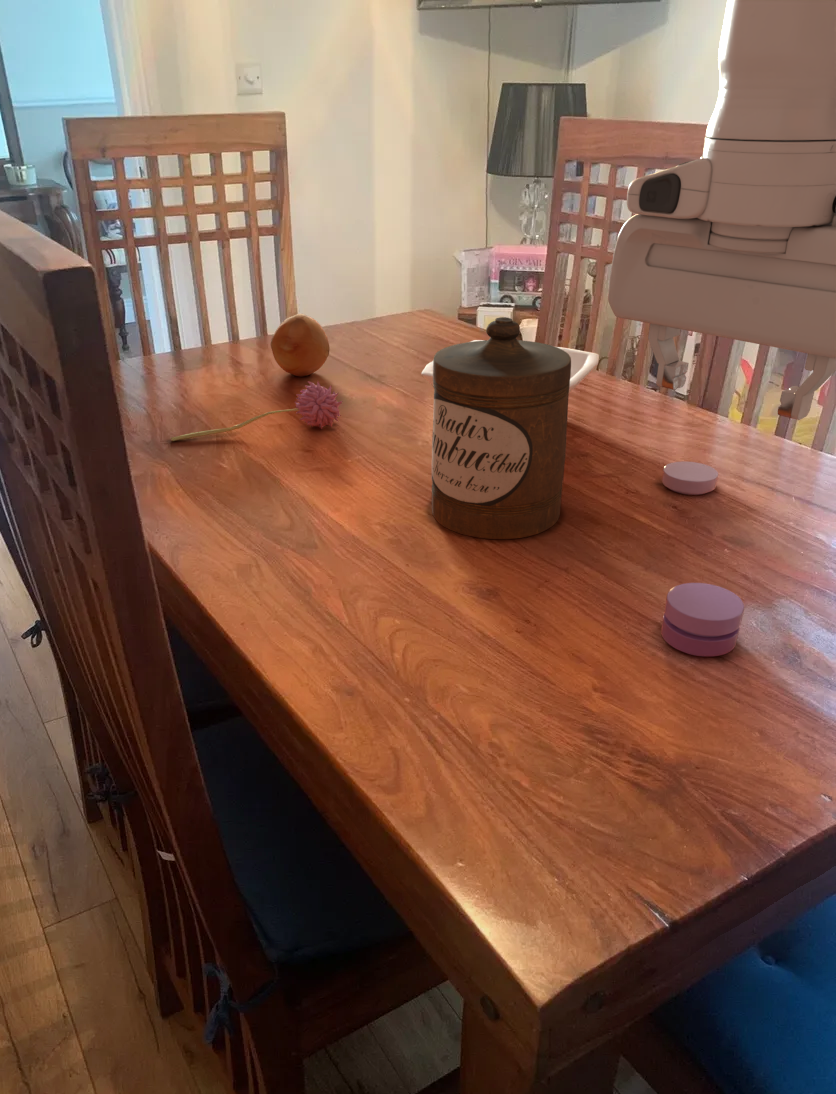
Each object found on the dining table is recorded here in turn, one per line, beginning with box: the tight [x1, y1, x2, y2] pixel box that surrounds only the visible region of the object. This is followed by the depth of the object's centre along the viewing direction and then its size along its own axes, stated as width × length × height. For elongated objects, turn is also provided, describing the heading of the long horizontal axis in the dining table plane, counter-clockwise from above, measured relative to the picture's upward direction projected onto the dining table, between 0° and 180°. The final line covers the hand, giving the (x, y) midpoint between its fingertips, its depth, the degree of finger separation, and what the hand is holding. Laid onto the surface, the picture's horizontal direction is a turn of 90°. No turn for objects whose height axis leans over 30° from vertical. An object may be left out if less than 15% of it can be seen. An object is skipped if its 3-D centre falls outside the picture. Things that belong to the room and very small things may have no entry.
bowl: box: [420, 339, 600, 394], centre depth 125 cm, size 22×23×8 cm
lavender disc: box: [663, 582, 745, 637], centre depth 75 cm, size 6×6×2 cm
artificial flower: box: [170, 380, 343, 442], centre depth 123 cm, size 7×7×25 cm
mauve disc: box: [660, 612, 741, 657], centre depth 76 cm, size 6×6×2 cm
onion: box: [270, 313, 331, 377], centre depth 147 cm, size 10×10×10 cm
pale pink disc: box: [661, 460, 719, 496], centre depth 105 cm, size 6×6×2 cm
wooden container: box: [431, 316, 571, 540], centre depth 95 cm, size 15×15×22 cm
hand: (728, 400), depth 62 cm, fingers open, 8 cm apart
